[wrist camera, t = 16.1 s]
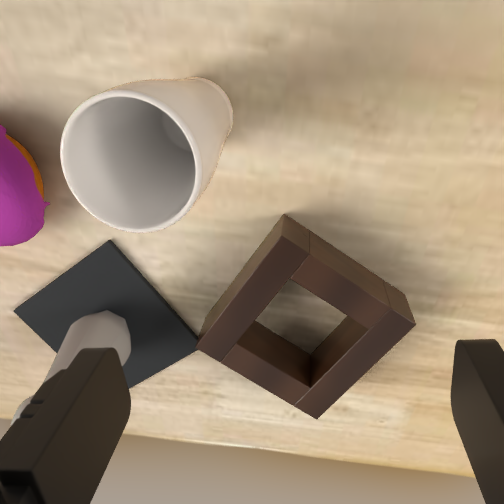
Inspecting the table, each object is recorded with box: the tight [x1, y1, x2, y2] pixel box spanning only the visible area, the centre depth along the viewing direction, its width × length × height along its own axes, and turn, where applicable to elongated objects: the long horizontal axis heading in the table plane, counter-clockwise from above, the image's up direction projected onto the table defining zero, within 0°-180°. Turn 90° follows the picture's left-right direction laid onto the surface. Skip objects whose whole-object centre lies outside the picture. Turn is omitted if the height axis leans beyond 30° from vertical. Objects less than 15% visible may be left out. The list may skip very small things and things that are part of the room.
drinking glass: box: [60, 77, 233, 233], centre depth 27 cm, size 7×7×15 cm
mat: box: [14, 240, 198, 389], centre depth 43 cm, size 13×13×1 cm
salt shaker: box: [11, 310, 131, 426], centre depth 37 cm, size 6×6×13 cm
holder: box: [195, 214, 416, 419], centre depth 38 cm, size 12×12×4 cm
